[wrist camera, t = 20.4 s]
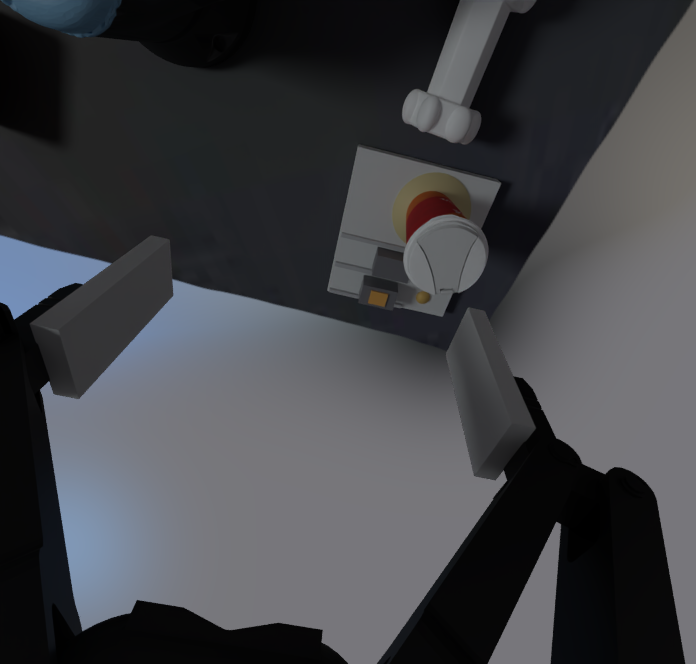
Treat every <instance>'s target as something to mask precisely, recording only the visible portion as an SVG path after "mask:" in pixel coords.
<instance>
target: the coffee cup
mask: <svg viewBox="0 0 696 664" xmlns="http://www.w3.org/2000/svg"><path fill="white" fill-rule="evenodd" d="M487 259H488V243H487V239H486V237H485V235H484V233H483V232H482V230H481V229H480V228H479V227H478V226H477V225H476V224H475V223H473V222H472V221H470V220H468V219H467V218H466V217H465V216H464V215H463V214H462V212H461V211H460V210H459V209H458V208H457V207H456V206H455V204H454V203H453V202H452V201H451V200H450V199H449V198H448V197H447V196H446V195H444V194H442V193H440V192H437V191H427V192H423V193H421V194H419V195H418V196H416V197H415V198H414V199H413V200H412V201H411V203H410V205H409V207H408V209H407V213H406V247H405V251H404V257H403V263H404V268H405V272H406V274H407V276H408V278H409V279H410V280H411V282H412V283H413V284H414V285H415V286H417V287H418V288H420V289H421V290H423V291H425V292H427V293H430V294H433V295H435V294H441V295H446V294H453V293H455V292H458V293H460V292H462V291H464V290H466V289H468V288H469V287H470V286H472V285H473V284H474V283H475V282H476V281H477V280H478V278H479V277H480V276H481V274H482V272H483V270H484V267H485V265H486V262H487Z"/></svg>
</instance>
